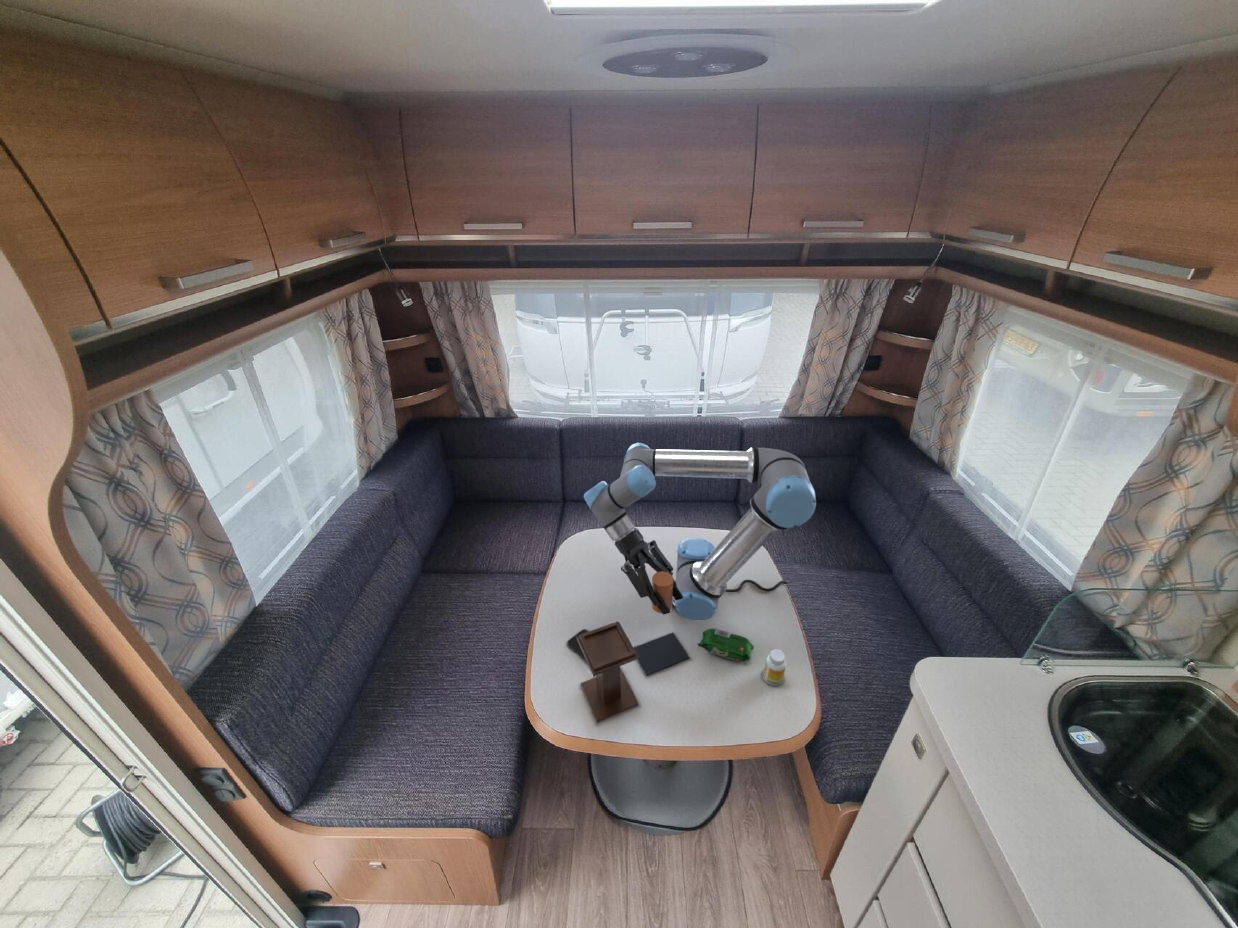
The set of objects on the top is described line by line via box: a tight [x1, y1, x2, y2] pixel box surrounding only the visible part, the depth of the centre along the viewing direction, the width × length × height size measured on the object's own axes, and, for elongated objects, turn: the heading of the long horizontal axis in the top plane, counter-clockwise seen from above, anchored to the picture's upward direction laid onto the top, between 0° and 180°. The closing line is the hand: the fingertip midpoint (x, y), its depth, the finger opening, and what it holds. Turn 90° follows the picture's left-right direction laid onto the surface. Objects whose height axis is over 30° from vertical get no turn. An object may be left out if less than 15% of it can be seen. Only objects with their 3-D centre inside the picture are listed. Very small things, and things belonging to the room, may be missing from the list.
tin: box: [651, 571, 674, 614], centre depth 132 cm, size 6×6×10 cm
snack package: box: [697, 628, 755, 663], centre depth 144 cm, size 7×16×5 cm, turn 69°
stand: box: [577, 620, 639, 724], centre depth 128 cm, size 12×12×21 cm
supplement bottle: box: [762, 648, 787, 686], centre depth 135 cm, size 5×5×10 cm
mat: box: [633, 632, 690, 677], centre depth 144 cm, size 14×10×1 cm
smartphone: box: [566, 628, 590, 663], centre depth 145 cm, size 8×1×16 cm
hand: (673, 605), depth 131 cm, fingers closed on tin, 6 cm apart
